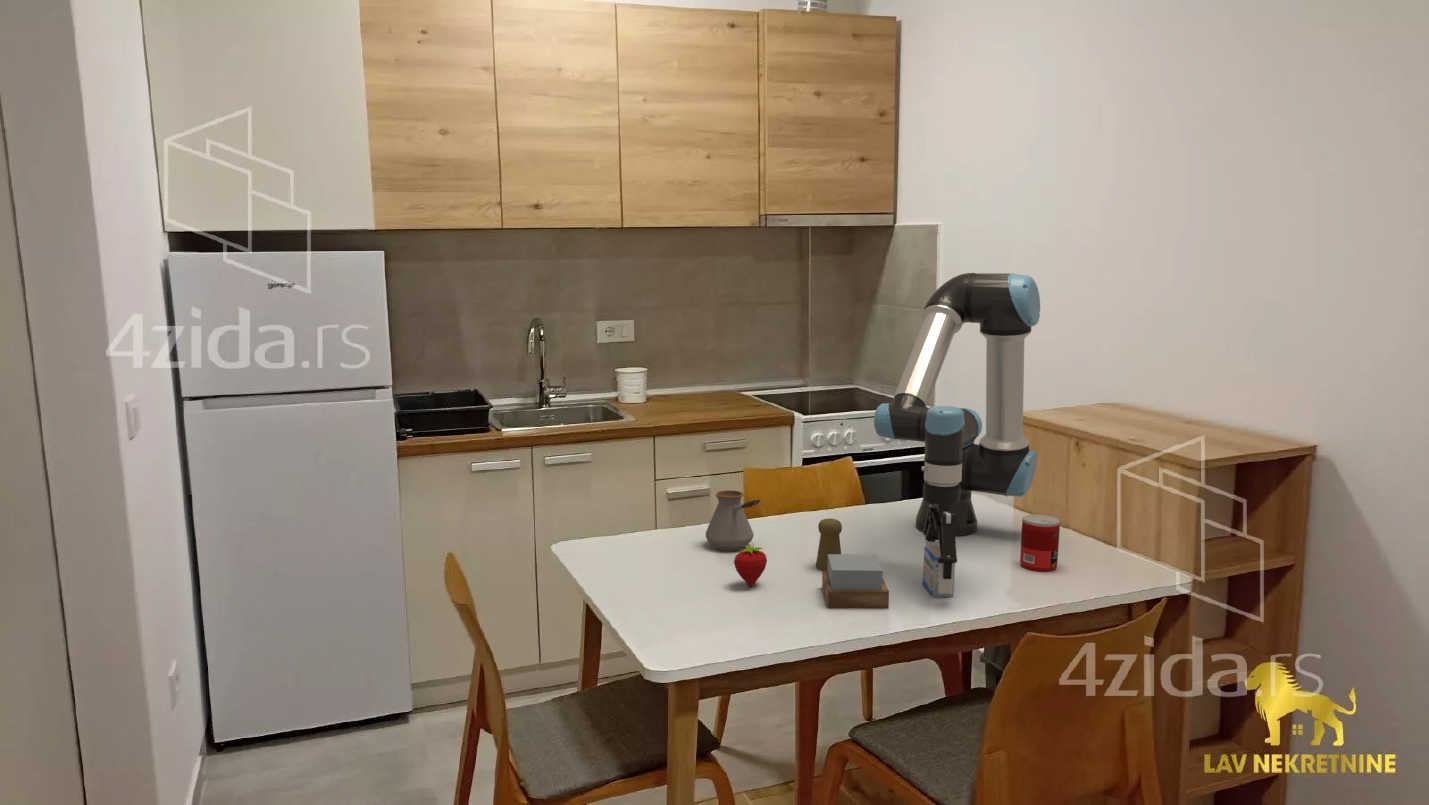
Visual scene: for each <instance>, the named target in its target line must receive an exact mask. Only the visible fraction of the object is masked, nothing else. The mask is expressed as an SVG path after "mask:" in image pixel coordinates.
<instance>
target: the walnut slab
mask: <svg viewBox="0 0 1429 805" xmlns="http://www.w3.org/2000/svg"><path fill="white" fill-rule="evenodd" d="M821 572H822V573H821V577H822V578H821V580H822V581H821V583H822V584H821V589H822V592H823V596H824V599H825V602H826V606H827V608H828V609H870V610H871V609H879V610H880V609H883V610H885V609H889V608H890V606H889V604H890V590H889V588H888V586H887V584H886V582H885V580H884V579H883V580H882V590H846V589H832V588H831V584H830V580H829V577H828V573H827V571H821Z"/></svg>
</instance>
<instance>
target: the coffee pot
mask: <svg viewBox="0 0 1429 805" xmlns="http://www.w3.org/2000/svg"><path fill="white" fill-rule="evenodd" d="M743 496H744V493H743V492H742V491H739V490H720V491H717V492H716V493H715V497H716V498H717V501H718V503H717V505H716V508H715V511H714V512H713V515H712V517H711V520H710V522H709V524H708V527H707V528H706V530H705V538H706V540H707V542H708V543H710V545H711V546H714V547H715V549H716V550H720V551H727V552H728V551H729V552H731V551H739V550H741V549H746V545H747V546H748V545H749V544H750V543H752V542H751V541H752V540H753V538H754V532H753V529H752V527H751V524H750V522H749V519H748V517H747V515H746V513H745V510H744V509H747V508H751V507H753V506H754V507H755V509H758V510H760V509H762V507H764V505H765V504H764V502H763V501H762V500H760V499H753V500H752V501H751V500H750V501H747V502H745V503H743V504H742V503H741V500H742V497H743ZM759 503H761V504H762V507H760V508H759V507H756V505H759ZM750 540H751V541H750ZM714 547H713V548H714Z"/></svg>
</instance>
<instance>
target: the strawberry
mask: <svg viewBox="0 0 1429 805" xmlns="http://www.w3.org/2000/svg"><path fill="white" fill-rule="evenodd" d="M750 541H751V542H750V543H751V544H752V546H749V545H748V544H747V545H746V547H745V548H743V549H740V550H738V553H737V554H736V555H735V556H734V561H733V564H734V568H735V571H736V572H737V573H738V575H739V576H740V577H741V579H742V580H743V581H744V582H745V583H746V584H747V585H748V586H749V587H751V586H755V585H756V583H757V581H758V580H759V578H760V577H761V576H762V574H763V573H764V571H765V569H766V566H767V563H768V558H767V555H766V554H765V553H764V551H762V549H763V547H761V546H760V547H756V546H755V544H754V543H753V541H752V540H750ZM754 546H755V547H754ZM760 549H761V550H760ZM739 551H740V552H739Z"/></svg>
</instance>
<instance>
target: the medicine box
mask: <svg viewBox="0 0 1429 805" xmlns="http://www.w3.org/2000/svg"><path fill="white" fill-rule="evenodd" d="M947 557H950V556H947ZM939 559H941V555H940V547H939V546H926V545H925V546H924V549H923V563H922V564H923V565H922V584H921V585H922V586H923V587H924V588H925V590H927V591H928V593H929V594H930V595H931V597H933V598H938V597H939V598H953V597H954V594H955V592H954V591H955V572H956V570H955V569H956V563H954V568H953V590H952V594H939V593H938V583H939V563H938V562H937V561H938V560H939Z"/></svg>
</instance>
